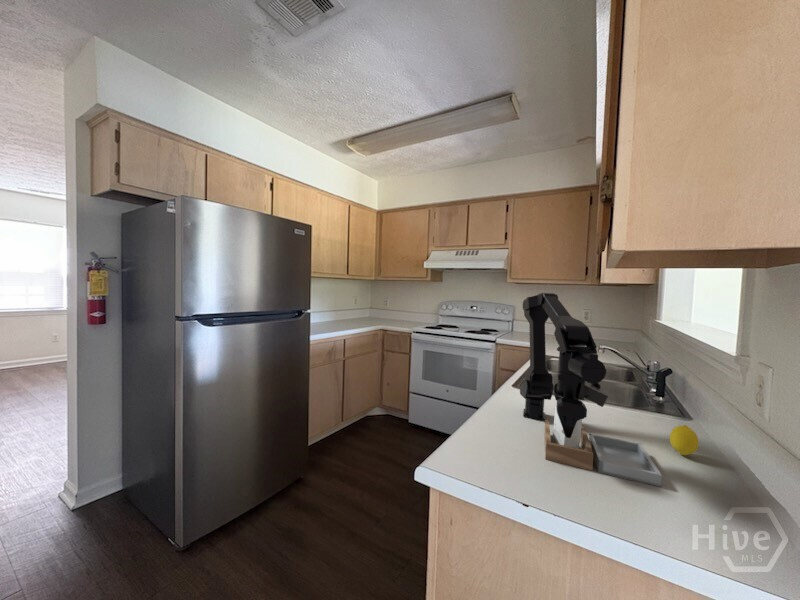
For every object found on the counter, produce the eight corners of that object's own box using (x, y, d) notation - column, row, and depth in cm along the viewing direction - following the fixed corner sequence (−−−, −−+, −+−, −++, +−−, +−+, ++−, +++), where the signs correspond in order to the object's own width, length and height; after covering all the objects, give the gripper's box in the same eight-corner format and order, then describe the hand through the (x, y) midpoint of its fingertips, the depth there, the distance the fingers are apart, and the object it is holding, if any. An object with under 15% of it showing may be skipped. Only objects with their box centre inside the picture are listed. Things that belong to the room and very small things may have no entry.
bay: (544, 433, 92) (545, 420, 92) (583, 441, 88) (584, 427, 88) (545, 459, 78) (546, 443, 78) (592, 470, 74) (593, 453, 74)
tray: (588, 442, 87) (589, 433, 87) (639, 453, 83) (640, 443, 83) (598, 472, 73) (599, 461, 73) (660, 487, 68) (661, 475, 68)
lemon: (670, 447, 86) (672, 419, 86) (697, 456, 82) (700, 426, 82) (667, 454, 83) (670, 424, 82) (696, 463, 79) (699, 432, 78)
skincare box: (551, 442, 87) (553, 399, 86) (567, 443, 87) (569, 399, 86) (563, 454, 81) (566, 408, 80) (580, 455, 81) (583, 408, 80)
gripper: (614, 386, 71) (609, 454, 72) (600, 368, 88) (596, 423, 89) (559, 379, 75) (555, 442, 76) (555, 362, 92) (552, 415, 93)
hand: (566, 430), depth 83 cm, fingers open, 9 cm apart
